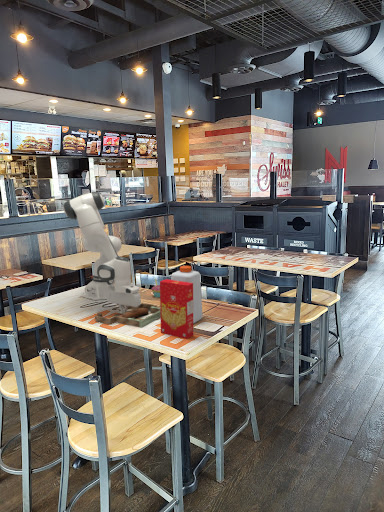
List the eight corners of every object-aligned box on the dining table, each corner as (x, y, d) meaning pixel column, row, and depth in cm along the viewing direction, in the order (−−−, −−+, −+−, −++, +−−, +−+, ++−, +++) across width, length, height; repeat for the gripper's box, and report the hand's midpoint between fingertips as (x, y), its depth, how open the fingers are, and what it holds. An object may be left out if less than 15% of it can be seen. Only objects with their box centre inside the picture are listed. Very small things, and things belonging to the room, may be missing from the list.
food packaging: (160, 332, 182) (159, 281, 177) (167, 329, 186) (166, 279, 182) (187, 339, 174) (186, 285, 170) (193, 335, 179) (193, 283, 174)
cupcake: (149, 297, 240) (148, 278, 238) (155, 294, 248) (154, 275, 246) (161, 298, 238) (161, 279, 235) (167, 295, 245) (167, 276, 243)
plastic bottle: (191, 326, 190) (191, 271, 185) (165, 321, 197) (165, 267, 193) (205, 317, 203) (205, 265, 198) (180, 313, 210) (180, 262, 206)
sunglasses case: (138, 311, 214) (142, 302, 211) (145, 319, 211) (150, 310, 207) (112, 319, 200) (116, 310, 197) (120, 328, 197) (124, 319, 194)
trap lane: (92, 321, 198) (92, 315, 197) (127, 305, 224) (127, 300, 223) (136, 330, 185) (136, 323, 185) (168, 312, 211) (168, 306, 211)
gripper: (103, 286, 206) (104, 311, 209) (135, 291, 197) (135, 316, 199) (111, 283, 212) (112, 308, 214) (142, 288, 202) (142, 313, 205)
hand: (123, 312), depth 207 cm, fingers closed
